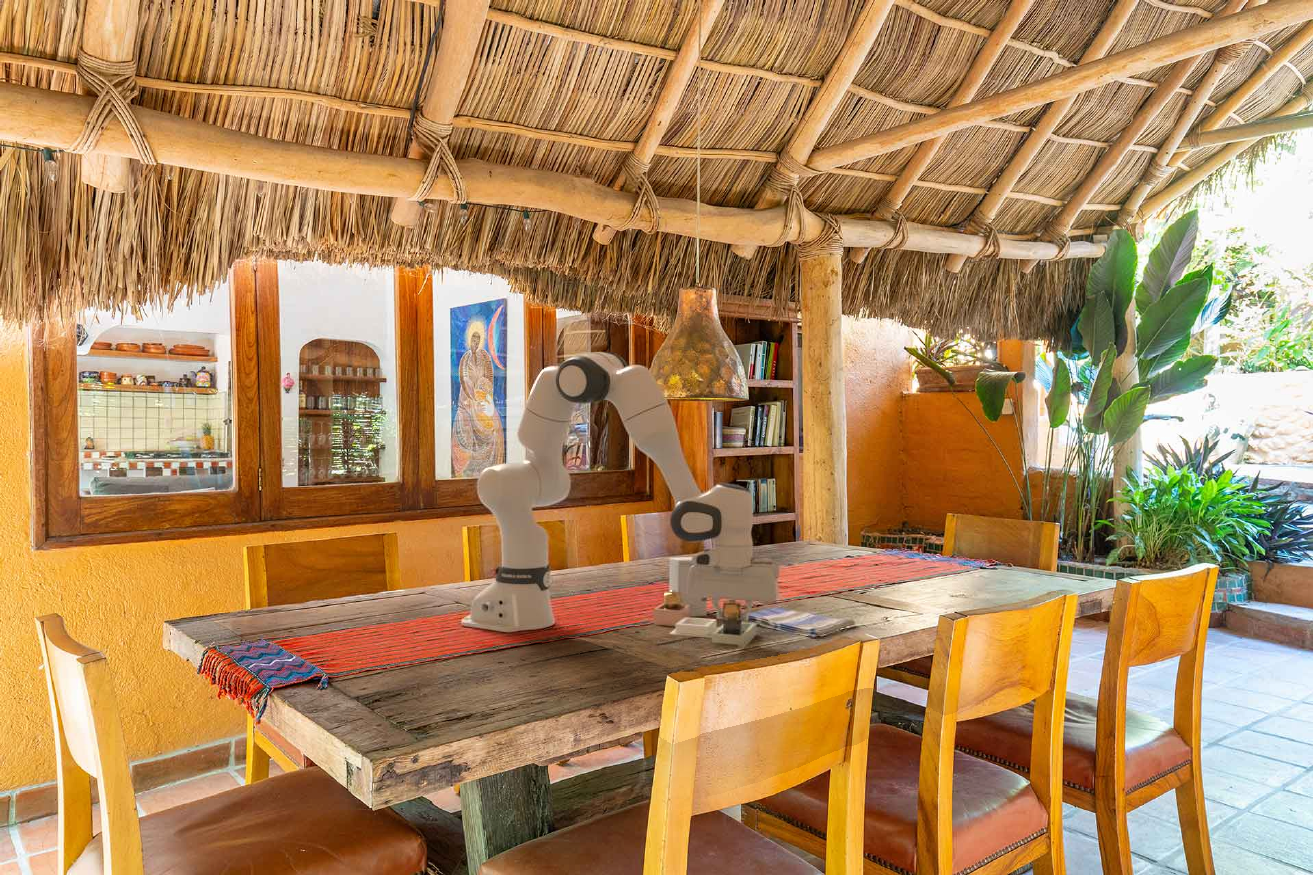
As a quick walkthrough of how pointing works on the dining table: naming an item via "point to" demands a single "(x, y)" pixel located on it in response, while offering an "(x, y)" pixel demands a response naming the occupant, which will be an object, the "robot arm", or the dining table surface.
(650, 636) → the dining table surface
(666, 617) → the pink open box
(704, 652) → the dining table surface
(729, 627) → the cell
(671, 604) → the cell
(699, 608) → the skincare box
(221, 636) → the dining table surface
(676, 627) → the cradle
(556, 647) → the dining table surface
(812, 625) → the dish towel
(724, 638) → the trough
